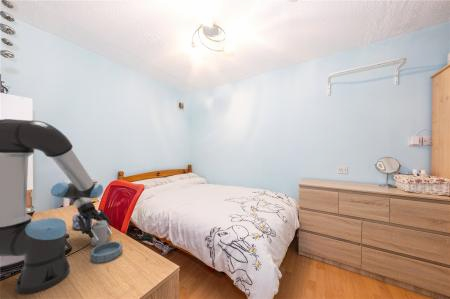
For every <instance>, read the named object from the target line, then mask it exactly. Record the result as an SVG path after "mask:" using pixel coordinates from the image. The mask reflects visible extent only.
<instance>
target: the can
mask: <svg viewBox="0 0 450 299" xmlns="http://www.w3.org/2000/svg"><path fill="white" fill-rule="evenodd" d="M108 225H109V223H107V221H105V220H101V221H97V220H96V221H95V222H92V227H91V231H92V230H93V231H94V232H95V234H96V236H97V238H98V239H99V240H98V241H97V242H96V243H94V241H93V240H92V238H90V244H91V245H92V246H94V247H96V246H98V245H100V244H103V243H106V242H108V235H107V229H108Z"/></svg>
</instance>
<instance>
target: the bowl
mask: <svg viewBox="0 0 450 299" xmlns="http://www.w3.org/2000/svg"><path fill="white" fill-rule="evenodd" d="M122 250H123V243H122V242H120V241H114V240H113V241H106V242H105V243H103V244H100V245H98V246H94V247H93V248H92V249H90V252H89V253H90V255H89V257H90V261H91V262H92V264H93V263H94V264H103V263H108V262H111V261H114V260H115V259H117V258H118V257H119V256H121V254H122Z"/></svg>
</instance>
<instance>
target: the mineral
mask: <svg viewBox="0 0 450 299" xmlns="http://www.w3.org/2000/svg"><path fill="white" fill-rule="evenodd" d="M78 216H81V215H80V214H79V213H78V214H74V215H72V220H71V221H72V229H75V230H81V229H80V226H79V223H78V222H77V220H76V219H77V218H78ZM83 220H84V223H85V219H84V218H83ZM90 221H91V228H92V225H93V219H91V220H90ZM85 226H86V223H85Z"/></svg>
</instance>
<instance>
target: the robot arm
mask: <svg viewBox="0 0 450 299" xmlns="http://www.w3.org/2000/svg"><path fill="white" fill-rule="evenodd" d="M35 150H37V151H40V152H41V153H43V154H44V156H46V157H48V158H51V159H52V161H54V162H55V163H56V165H57V167H58V168H59V169H60V170H61V171H62V172H63V174H64V175H65V176H66V177H67V178H68V180H69V181H70V183H67V182H62V181H61V182H56V183H55V184H53V185H52V187H51V189H50V193H51V195H52V196H53V197H56V198H64V199H69V200H71V201H72V203H73V205H74V207H75V208H76V209H77V212H78V214H80V215H81V216H78V218H77V219H76V220H77V222H78V223H79V226H80V229H79V230H80V232H81V234H82V235H84V234H85V235H87V236H88V237H89V238H90V239H91V238H92V240H93V241H94V243H96V242H97V241H98V240H99V239H98V238H97V236H96V234H95V232H94V231H93V230H92V227H91V221H90V220H91V219H92V220H94V221H96V222H97V221H101V220H105V221H107V223H108V229H107V237H110V236H111V235H112V234H113V232H112V230H111V227H110V225H109V224H110V222H111V219H109V217H108V216H107V215H106V214H105V212H104V210H103V209H102V208H101V209H99V210H97V209H96V207H95V204H94V203H93V202H92V199H93V198H95V199H96V198H100V197H101V195H102V194H103V192H104V186H103V185H102V184H100V183H96V182H94V180H93V179H92V177H91V176H90V175H89V173H88V172H87V169H85V167H84V165H83V164H82V163H81V161H80V160H79V158H78V157H77V154H75V152H74V150H73V144H72V142H71V141H70V139H69V138H68V137H67V136H66V135H65V134H64V133H63V132H61V130H59V129H58V128H57V127H55V126H53V125H51V124H49V123H47V122H45V121H40V120H34V119H33V120H27V119H11V118H4V119H1V118H0V257H24V258H23V260H24V261H23V268H22V269H21V272H20V274H19V276H18V278H17V280H16V283H15V292H16V293H17V294H19V295H20V294H21V295H22V294H23V295H26V294H27V295H28V294H33V293H39V292H40V291H44V290H46V289H48V288H51V287H53V286H55V285H57V284H59V283H60V282H62V280H64V279H65V278H66V277H67V276H68V275H69V274H70V264H69V261H68V258H67V255H66V238H67V224H66V221H65V220H63V219H61V218H57V217H56V218H55V217H48V218H40V219H36V220H33V221H32V216H31V215H30V214H27V203H28V202H27V200H28V198H27V197H28V173H29V171H28V170H29V157H30V156H32V155H34V153H35ZM83 218H84V219H85V223H86V226H85V223H84V220H83Z"/></svg>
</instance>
